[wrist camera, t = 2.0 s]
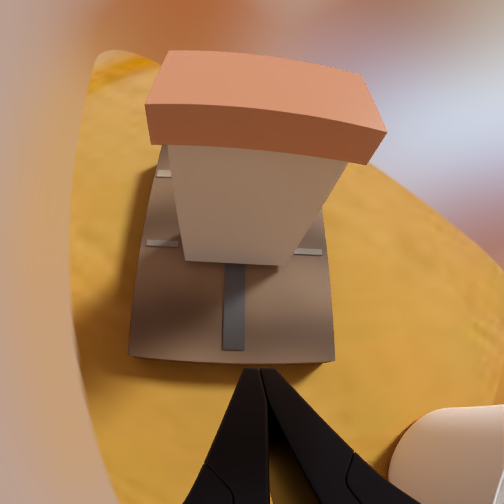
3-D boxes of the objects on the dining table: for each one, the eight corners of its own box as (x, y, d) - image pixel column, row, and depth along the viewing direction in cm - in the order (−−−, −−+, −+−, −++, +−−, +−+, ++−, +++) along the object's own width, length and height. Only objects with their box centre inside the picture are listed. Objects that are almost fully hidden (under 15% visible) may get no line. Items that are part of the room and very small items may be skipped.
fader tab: (291, 272, 18) (387, 132, 8) (178, 266, 17) (144, 103, 7) (289, 225, 19) (360, 75, 9) (183, 219, 19) (168, 50, 8)
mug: (402, 544, 12) (485, 584, 2) (371, 445, 16) (485, 471, 6) (472, 486, 14) (558, 495, 4) (451, 388, 18) (557, 369, 9)
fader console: (323, 363, 18) (335, 360, 16) (136, 357, 17) (127, 355, 15) (307, 171, 25) (314, 155, 23) (164, 160, 23) (162, 143, 21)
